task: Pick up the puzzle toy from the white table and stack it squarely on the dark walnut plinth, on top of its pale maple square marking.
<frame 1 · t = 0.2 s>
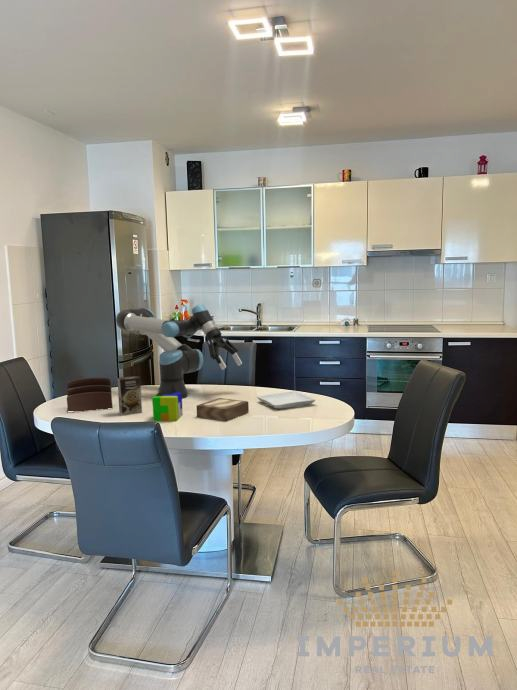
hand: (232, 366, 254), 15 cm above the table, tool tilted 35°, fingers open, 13 cm apart
salad plate: (285, 404, 238), on the table
puzzle toy: (168, 418, 218), on the table
plinth: (223, 414, 221), on the table
coffee box: (130, 413, 229), on the table
letter holder: (90, 409, 240), on the table
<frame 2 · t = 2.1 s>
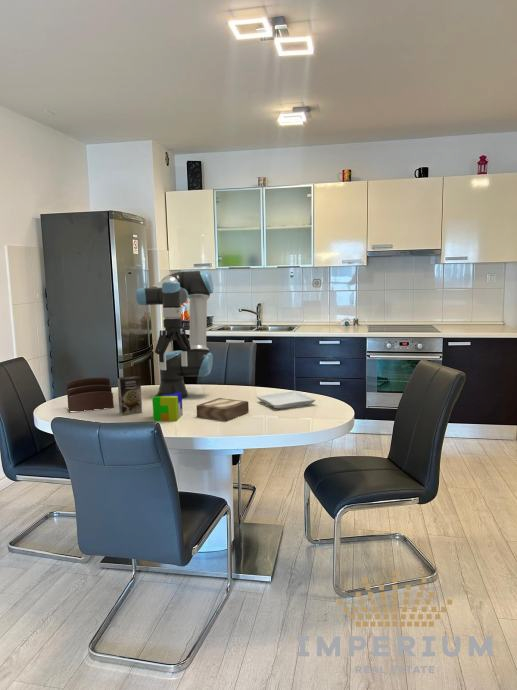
hand: (174, 368, 217), 21 cm above the table, tool pointing down, fingers open, 13 cm apart
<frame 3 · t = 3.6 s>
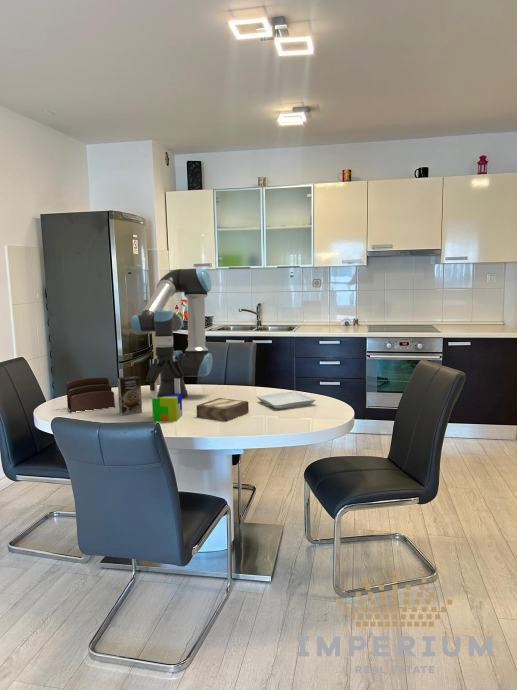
hand: (166, 396, 216), 10 cm above the table, tool pointing down, fingers open, 13 cm apart
puzzle toy: (168, 419, 217), on the table, touching gripper
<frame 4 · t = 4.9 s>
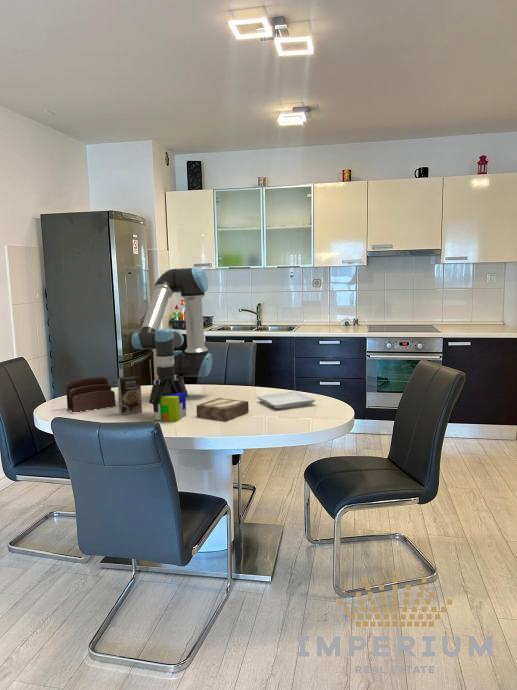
hand: (167, 416, 218), 1 cm above the table, tool pointing down, fingers closed on puzzle toy, 11 cm apart
puzzle toy: (170, 418, 218), on the table, touching gripper
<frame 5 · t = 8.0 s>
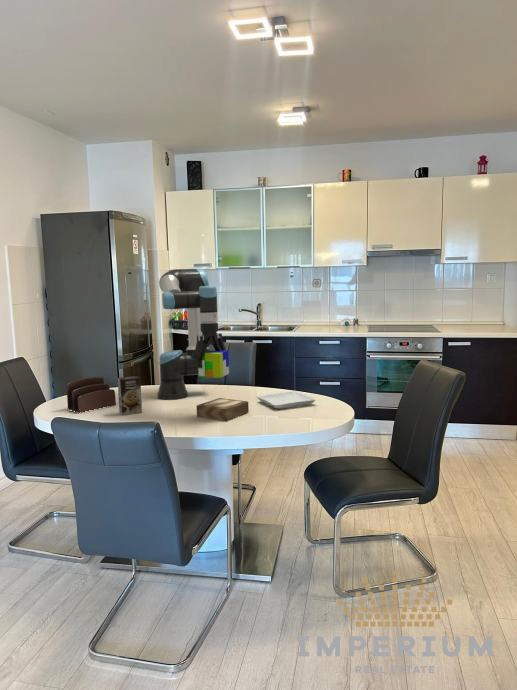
hand: (211, 373, 218), 18 cm above the table, tool pointing down, fingers closed on puzzle toy, 11 cm apart
puzzle toy: (214, 375, 218), point 17 cm above the table, touching gripper
when the fingers open (7 cm above the table, at t = 11.1 s): puzzle toy drops 1 cm, resting on plinth.
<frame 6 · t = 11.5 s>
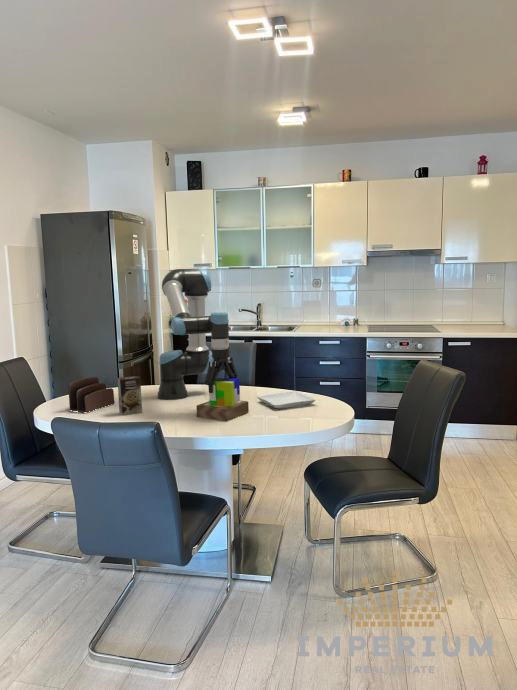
hand: (222, 397, 220), 8 cm above the table, tool pointing down, fingers open, 13 cm apart
puzzle toy: (225, 403, 220), point 5 cm above the table, touching plinth
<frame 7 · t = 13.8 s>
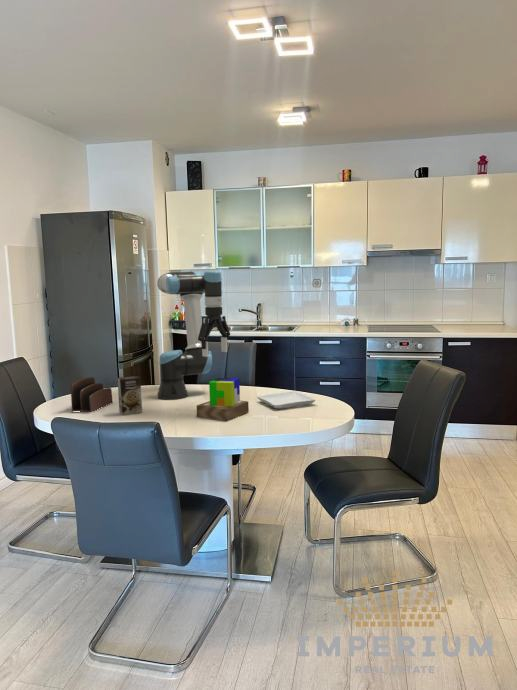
hand: (215, 354, 227), 25 cm above the table, tool pointing down, fingers open, 13 cm apart
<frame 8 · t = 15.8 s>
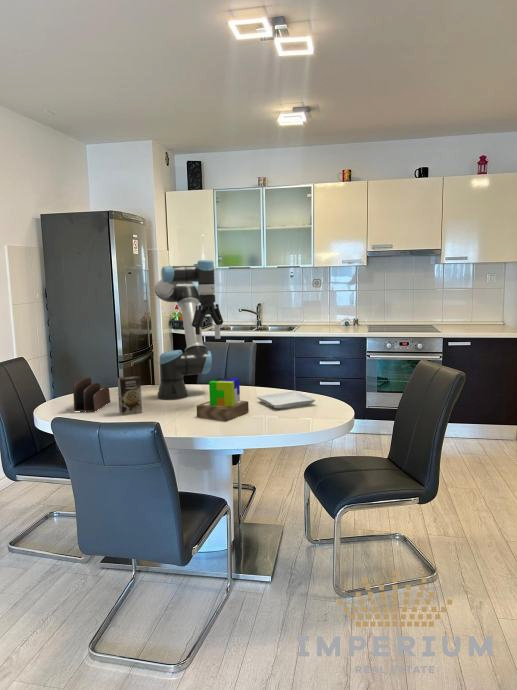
hand: (208, 340, 236), 31 cm above the table, tool pointing down, fingers open, 13 cm apart
at the end: puzzle toy inside the target area on the plinth (1.2 cm from its centre), point 4.9 cm above the plinth's base; puzzle toy tilted 0°; puzzle toy touching plinth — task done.
